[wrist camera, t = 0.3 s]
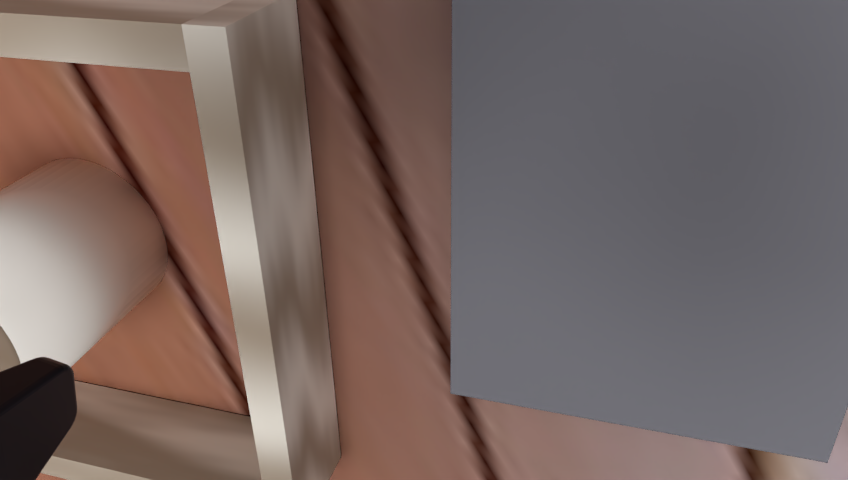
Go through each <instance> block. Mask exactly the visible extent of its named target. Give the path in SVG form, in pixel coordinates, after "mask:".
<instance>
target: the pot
mask: <svg viewBox="0 0 848 480" xmlns="http://www.w3.org/2000/svg"><path fill="white" fill-rule="evenodd" d="M167 262H168V250H167V243H166V239H165V236H164V232H163V230H162V227H161V225H160V223H159V221H158V219H157V217H156V215H155V213H154V212H153V210H152V209H151V207H150V206H149V204H148V203H147V202H146V201H145V199H144V198H143V197H142V196H141V195H140V194H139V193H138V191H137V190H136V189H135V188H134V187H132V186H131V185H130V184H129V183H128V182H127V181H125V180H124V179H123V178H121V177H120V176H119V175H117V174H116V173H114V172H112V171H111V170H109V169H107V168H105V167H103V166H101V165H98V164H96V163H93V162H90V161H87V160H81V159H74V158H65V159H58V160H54V161H51V162H49V163H47V164H45V165H43V166H42V167H40V168H38V169H36V170H35V171H33V172H31V173H30V174H28V175H26V176H24V177H23V178H21V179H19V180H17V181H16V182H14V183H12V184H11V185H9V186H7V187H5V188H4V189H2V190H0V372H1V371H3V370H6V369H8V368H11V367H13V366H16V365H19V364H21V363H24V362H26V361H29V360H32V359H35V358H38V357H47V358H51V359H53V360H56V361H59V362H62V363H64V364H67V365H69V366H70V367H71V366H72V365H74V364H75V363H76V362H77V361H78V360H79V359H80V358H81V357H82V356H83V355H84V354H85V353H86V352H87V351H88V350H90V349H91V348H92V347H93V346H94V345H95V344H96V343H97V342H98V341H99V340H100V339H101V338H102V337H103V336H105V335H106V334H107V333H108V332H109V331H110V330H111V329H112V328H113V327H114V326H115V325H116V324H117V323H118V322H119V321H121V320H122V319H123V318H124V317H125V316H126V315H127V314H128V313H129V312H130V311H131V310H132V309H133V308H134V307H135V306H137V305H138V304H139V303H140V302H141V301H142V300H143V299H144V298H145V297H146V296H147V295H148V294H149V293H150V292H151V291H153V290H154V289H155V288H156V287H157V286H158V284H159V283H160V282H161V280H162V278H163V277H164V275H165V271H166V268H167Z"/></svg>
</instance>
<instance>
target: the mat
mask: <svg viewBox="0 0 848 480" xmlns="http://www.w3.org/2000/svg"><path fill="white" fill-rule="evenodd" d="M451 394H456V395H462V396H467V397H473V398H478V399H484V400H489V401H494V402H500V403H505V404H511V405H516V406H522V407H527V408H533V409H538V410H543V411H549V412H554V413H560V414H565V415H571V416H576V417H581V418H587V419H592V420H598V421H603V422H609V423H614V424H620V425H625V426H630V427H636V428H641V429H647V430H652V431H658V432H663V433H668V434H674V435H679V436H685V437H690V438H696V439H701V440H707V441H712V442H717V443H723V444H728V445H734V446H739V447H745V448H750V449H756V450H761V451H766V452H772V453H777V454H783V455H788V456H794V457H799V458H804V459H810V460H815V461H821V462H826V463H828V460H829V457H830V454H831V451H832V449H833V446H834V443H835V440H836V438H837V435H838V432H839V429H840V426H841V424H842V421H843V418H844V415H845V412H846V410H847V407H848V0H452V139H451Z"/></svg>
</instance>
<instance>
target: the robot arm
mask: <svg viewBox="0 0 848 480" xmlns="http://www.w3.org/2000/svg"><path fill="white" fill-rule="evenodd" d="M76 415H77V399H76V390H75V380H74V373H73V370H72V368H71V367H70V366H69V365H67V364H64V363H62V362H59V361H56V360H53V359H51V358H47V357H38V358H35V359H32V360H29V361H26V362H24V363H21V364H19V365H16V366H13V367H11V368H8V369H6V370H3V371H1V372H0V480H36V478H37V477H38V475H39V474H40V472H41V471H42V470H43V468H44V467H45V465H46V464H47V462H48V461H49V459H50V458H51V456H52V455H53V453H54V452H55V450H56V449H57V448H58V446H59V445H60V443H61V442H62V440H63V439H64V437H65V436H66V434H67V433H68V431H69V430H70V428H71V427H72V425H73V423H74V421H75V418H76Z"/></svg>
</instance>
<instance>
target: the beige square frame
mask: <svg viewBox="0 0 848 480" xmlns="http://www.w3.org/2000/svg"><path fill="white" fill-rule="evenodd" d="M0 57H9V58H21V59H34V60H46V61H58V62H70V63H83V64H95V65H107V66H119V67H132V68H144V69H156V70H168V71H181V72H190V77H191V82H192V88H193V94H194V99H195V105H196V111H197V116H198V122H199V128H200V133H201V139H202V145H203V150H204V156H205V161H206V167H207V173H208V178H209V184H210V190H211V195H212V201H213V207H214V212H215V218H216V224H217V229H218V235H219V241H220V246H221V252H222V258H223V263H224V269H225V275H226V280H227V286H228V292H229V297H230V303H231V309H232V314H233V320H234V326H235V331H236V337H237V343H238V348H239V354H240V360H241V365H242V371H243V377H244V382H245V388H246V394H247V399H248V405H249V411H250V416H251V417H249V416H244V415H239V414H234V413H229V412H225V411H220V410H215V409H210V408H205V407H200V406H195V405H191V404H186V403H181V402H176V401H171V400H166V399H161V398H157V397H152V396H147V395H142V394H137V393H132V392H127V391H123V390H118V389H113V388H108V387H103V386H98V385H93V384H89V383H84V382H79V381H75V390H76V399H77V415H76V418H75V421H74V423H73V425H72V427H71V428H70V430H69V431H68V433H67V434H66V436H65V437H64V439H63V440H62V442H61V443H60V445H59V446H58V448H57V449H56V450H55V452H54V453H53V455H52V456H51V458H50V459H49V461H48V462H47V464H46V465H45V467H44V468H43V470H42V471H41V472H40V473H44V474H48V475H52V476H56V477H60V478H64V479H68V480H329V479H330V477H331V475H332V473H333V472H334V470H335V468H336V466H337V464H338V462H339V460H340V458H341V451H340V441H339V430H338V420H337V410H336V400H335V390H334V380H333V370H332V359H331V349H330V339H329V329H328V319H327V309H326V298H325V288H324V278H323V268H322V258H321V248H320V238H319V227H318V217H317V207H316V197H315V187H314V177H313V167H312V156H311V146H310V136H309V126H308V116H307V106H306V96H305V85H304V75H303V65H302V55H301V45H300V35H299V25H298V14H297V4H296V0H0Z"/></svg>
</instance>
